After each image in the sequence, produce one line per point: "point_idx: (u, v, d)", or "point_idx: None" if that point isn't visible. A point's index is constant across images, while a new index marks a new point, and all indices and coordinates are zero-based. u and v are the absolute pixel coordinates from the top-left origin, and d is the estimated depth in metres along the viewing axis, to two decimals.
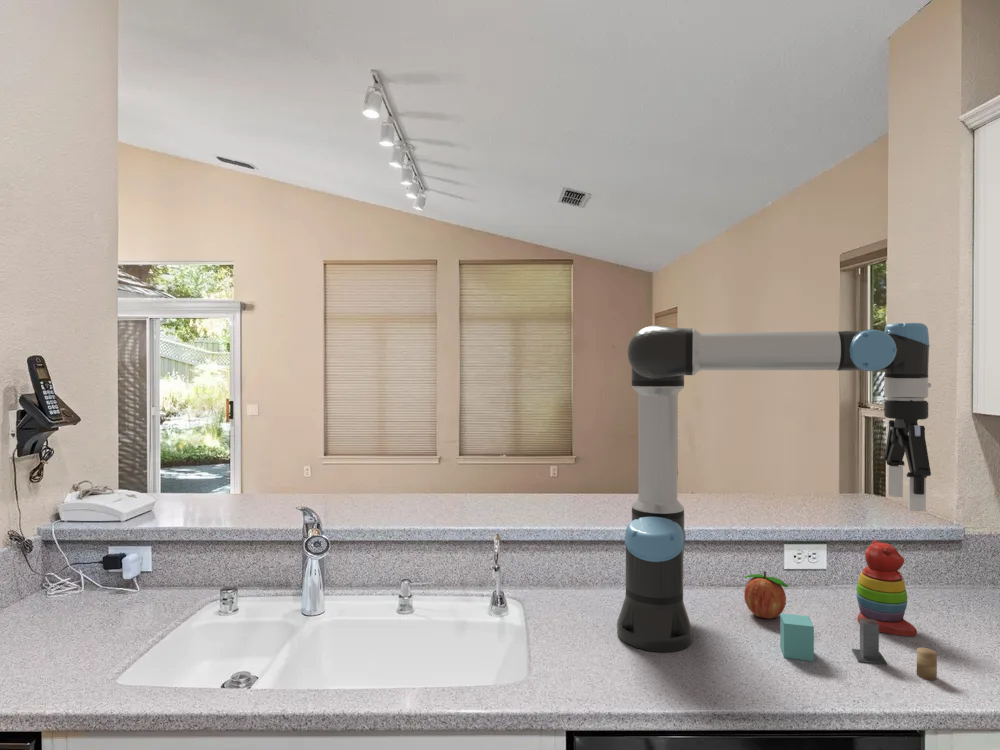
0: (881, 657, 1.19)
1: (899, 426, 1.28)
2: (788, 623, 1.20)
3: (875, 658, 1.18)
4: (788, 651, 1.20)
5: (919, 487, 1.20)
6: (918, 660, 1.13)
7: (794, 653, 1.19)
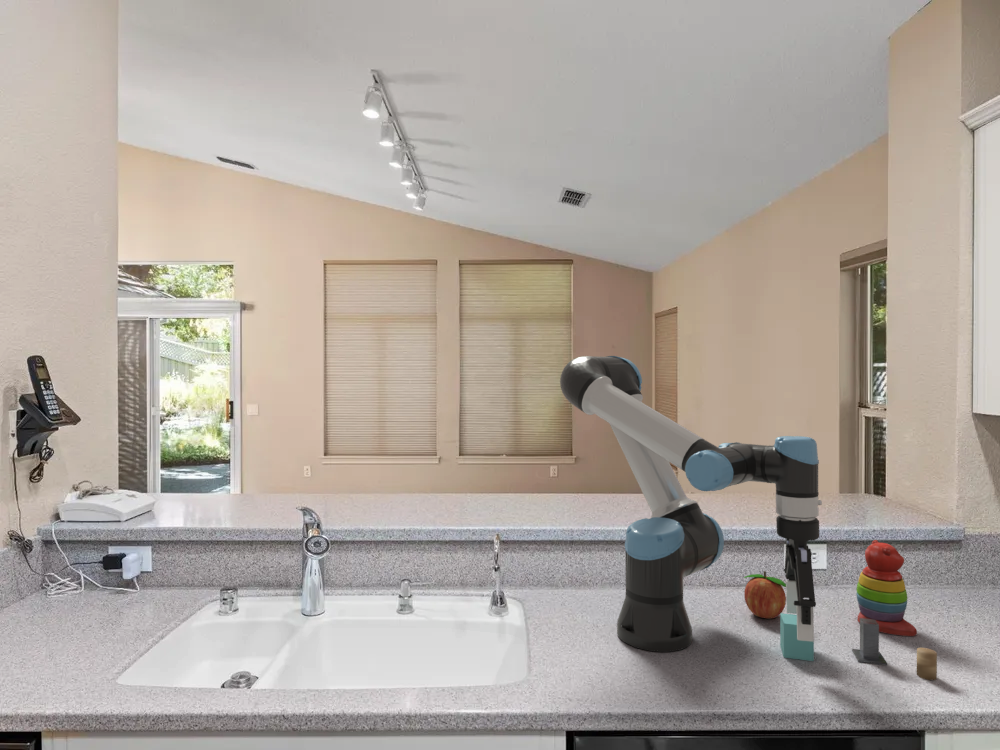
0: (881, 657, 1.19)
1: (791, 544, 1.22)
2: (788, 623, 1.20)
3: (875, 658, 1.18)
4: (788, 651, 1.20)
5: (806, 617, 1.13)
6: (918, 660, 1.13)
7: (794, 653, 1.19)
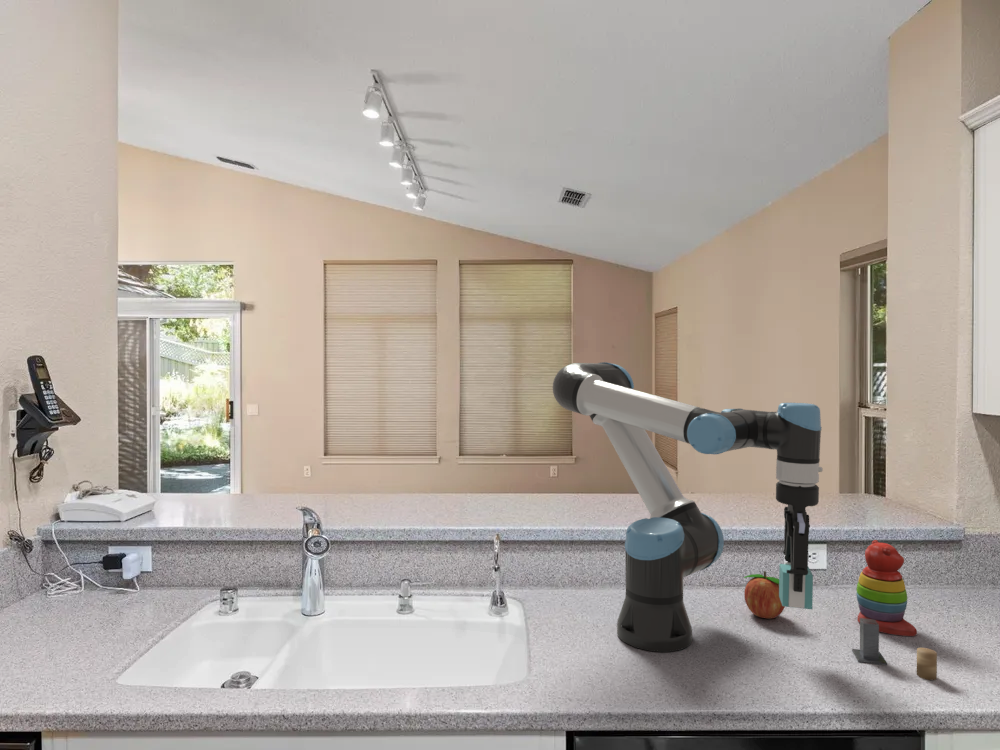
0: (881, 657, 1.19)
1: (790, 504, 1.22)
2: None
3: (875, 658, 1.18)
4: (787, 599, 1.20)
5: (798, 584, 1.18)
6: (918, 660, 1.13)
7: None
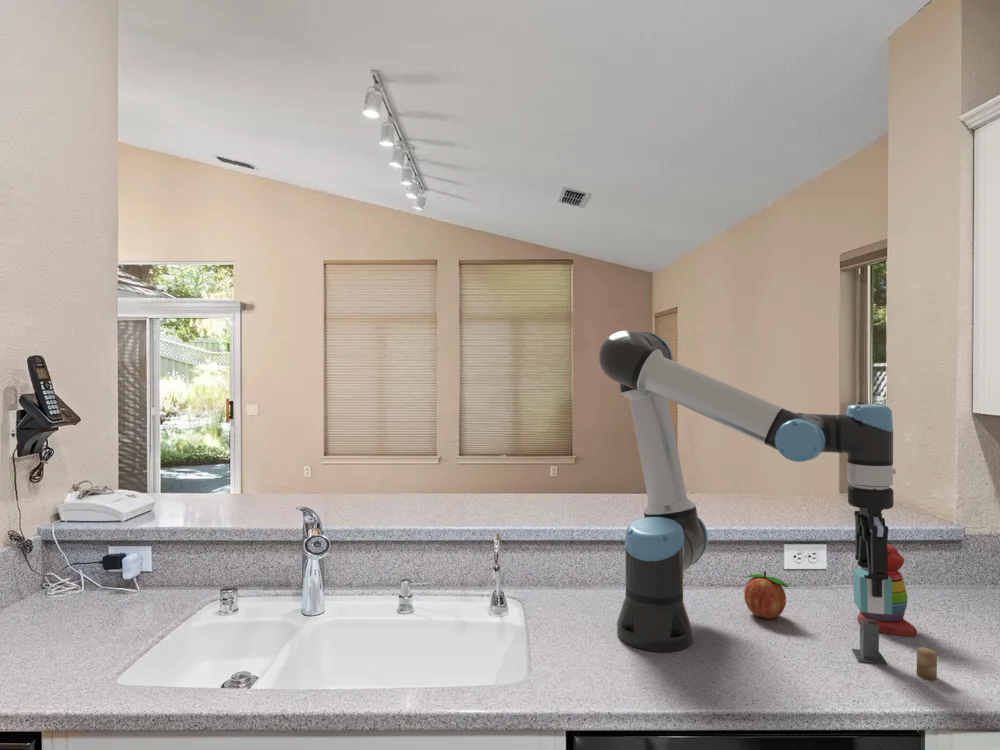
0: (881, 657, 1.19)
1: (863, 507, 1.20)
2: None
3: (875, 658, 1.18)
4: (865, 605, 1.18)
5: (877, 590, 1.15)
6: (918, 660, 1.13)
7: None
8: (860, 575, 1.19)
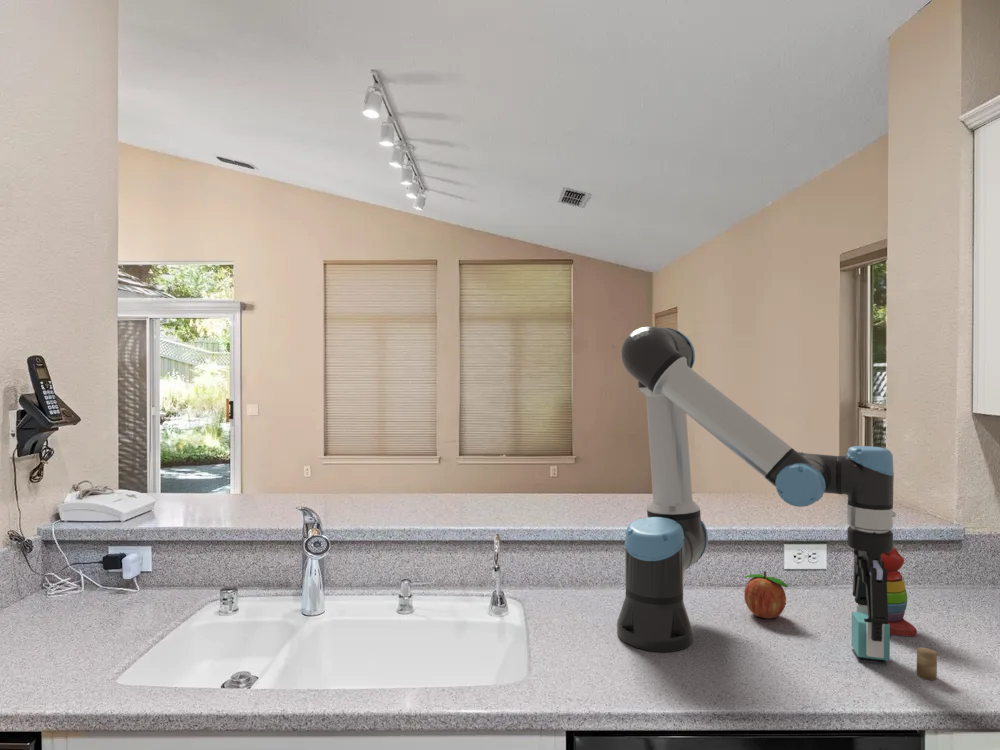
0: None
1: (862, 551, 1.20)
2: (863, 622, 1.18)
3: None
4: (862, 650, 1.18)
5: (877, 634, 1.15)
6: (918, 660, 1.13)
7: None
8: (858, 620, 1.19)
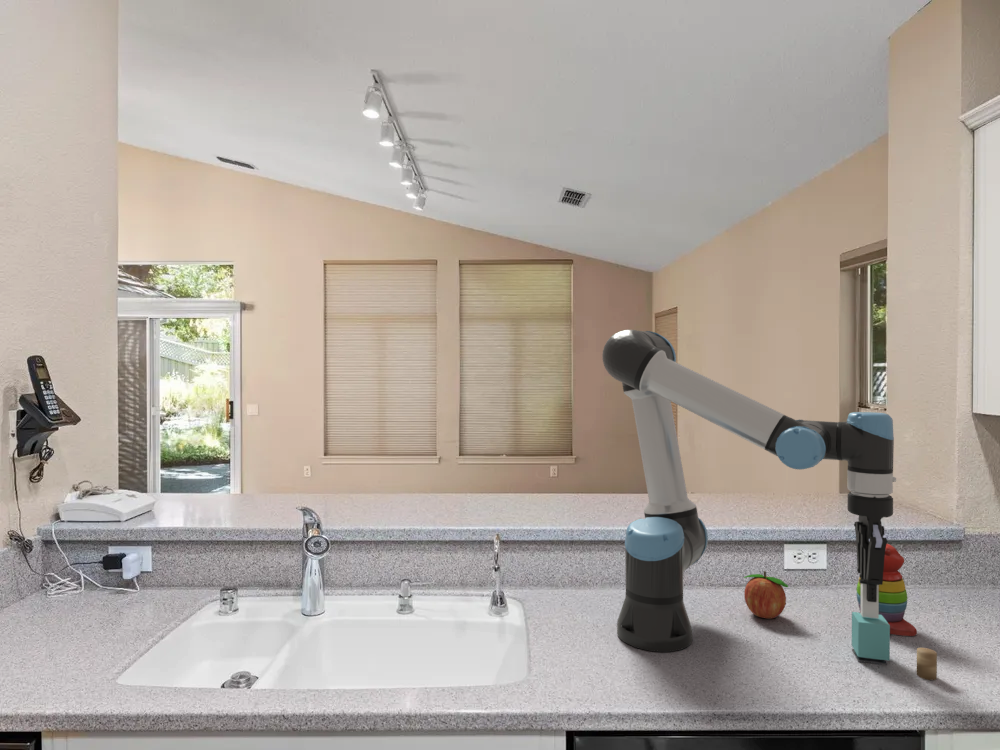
0: None
1: None
2: (863, 622, 1.18)
3: None
4: (862, 650, 1.18)
5: (871, 594, 1.18)
6: (918, 660, 1.13)
7: (869, 652, 1.18)
8: (858, 620, 1.19)
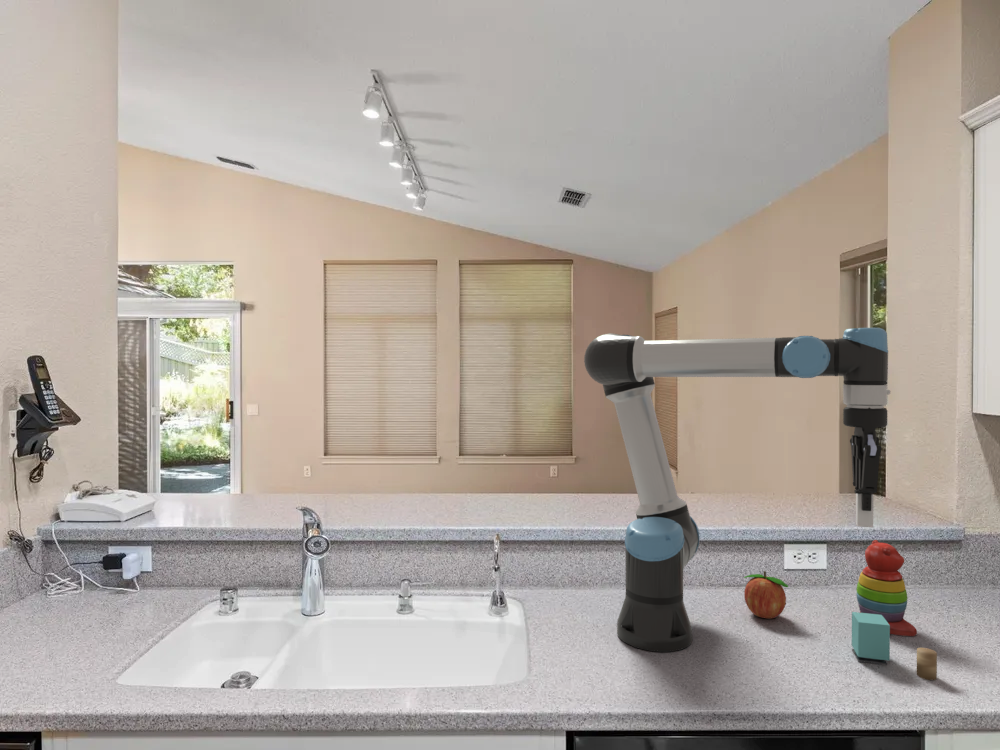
0: None
1: None
2: (863, 622, 1.18)
3: None
4: (862, 650, 1.18)
5: (866, 504, 1.21)
6: (918, 660, 1.13)
7: (869, 652, 1.18)
8: (858, 620, 1.19)
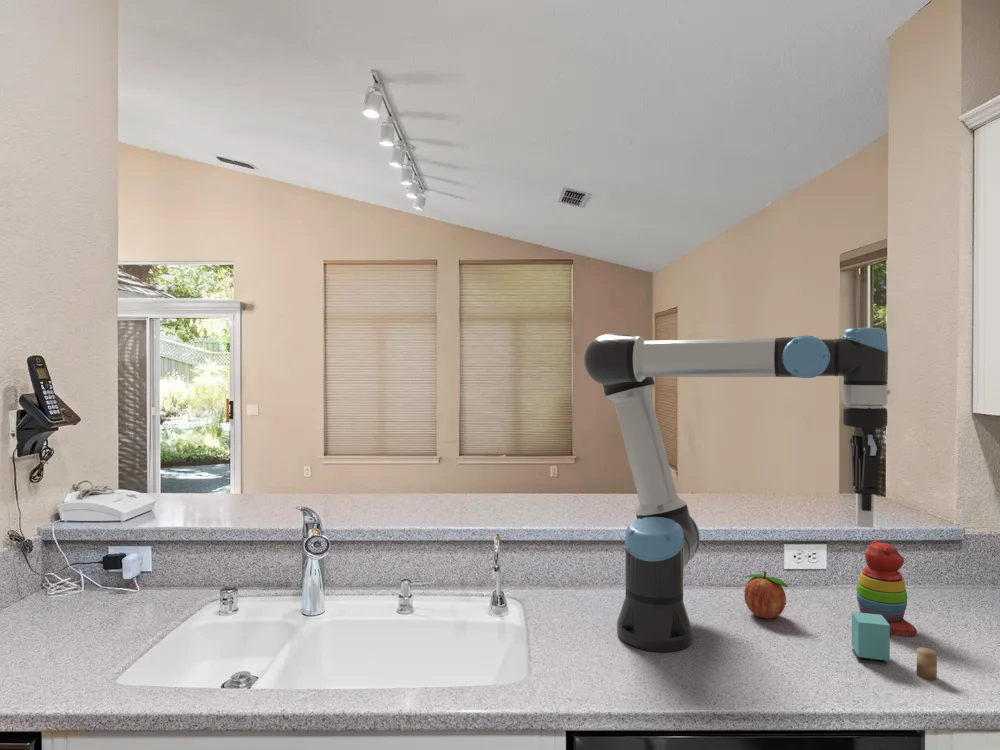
0: None
1: None
2: (863, 622, 1.18)
3: None
4: (862, 650, 1.18)
5: (866, 504, 1.22)
6: (918, 660, 1.13)
7: (869, 652, 1.18)
8: (858, 620, 1.19)
